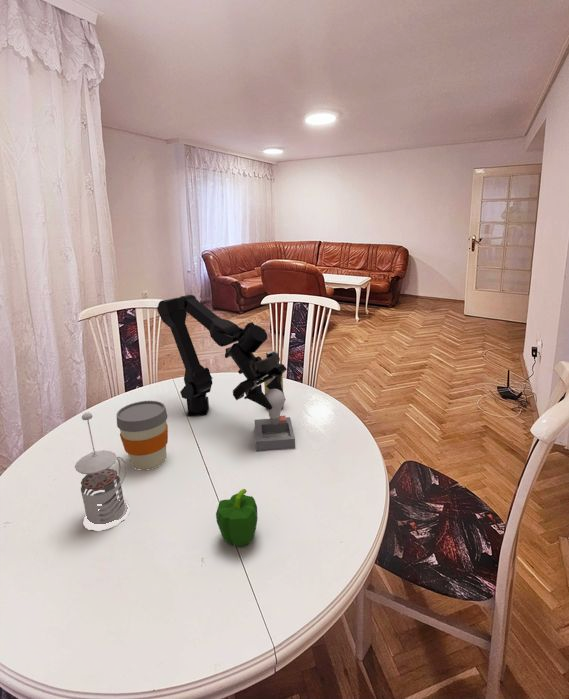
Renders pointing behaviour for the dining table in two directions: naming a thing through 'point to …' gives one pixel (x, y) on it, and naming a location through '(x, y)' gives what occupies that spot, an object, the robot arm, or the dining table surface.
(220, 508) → the bell pepper
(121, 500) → the french press
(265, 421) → the socket
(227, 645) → the dining table surface
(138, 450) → the reusable coffee cup
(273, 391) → the lightbulb
